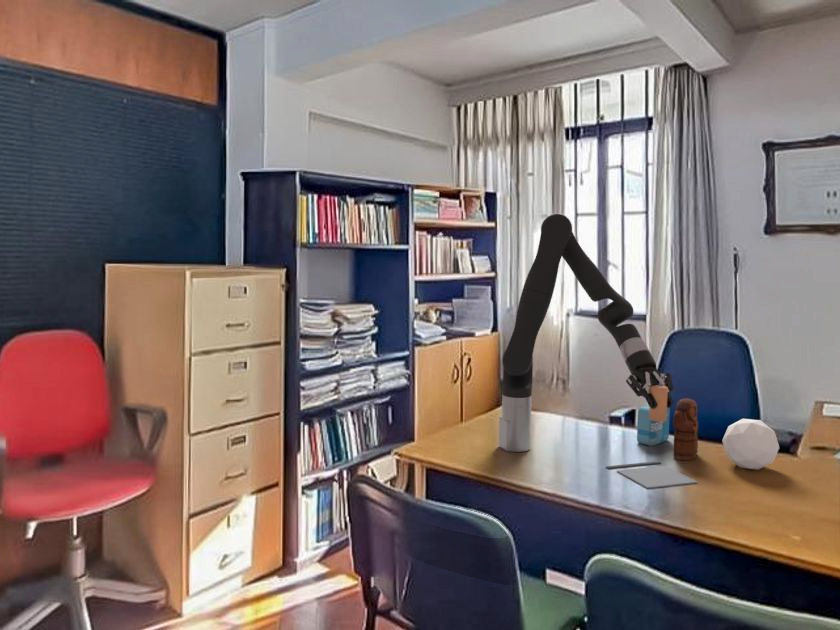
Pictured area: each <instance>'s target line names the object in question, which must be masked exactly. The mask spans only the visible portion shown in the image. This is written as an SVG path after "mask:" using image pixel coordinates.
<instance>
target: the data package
mask: <svg viewBox="0 0 840 630" xmlns="http://www.w3.org/2000/svg"><path fill="white" fill-rule="evenodd" d="M670 413H671V407H670V408H668V407H667V420H666V421H664V422H657V421H652V420H649V405H645V406H641V407H639V409H638V411H637V427H636V428H637V430H636V431H637V432H636V433H637V435H636V441H637V442H638V444H642V445H647V446H650V447H651V446H655V445H658V444H660V443H664V442H666V441H668V439H669V437H670V435H669V434H670V417H671V415H670Z"/></svg>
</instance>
